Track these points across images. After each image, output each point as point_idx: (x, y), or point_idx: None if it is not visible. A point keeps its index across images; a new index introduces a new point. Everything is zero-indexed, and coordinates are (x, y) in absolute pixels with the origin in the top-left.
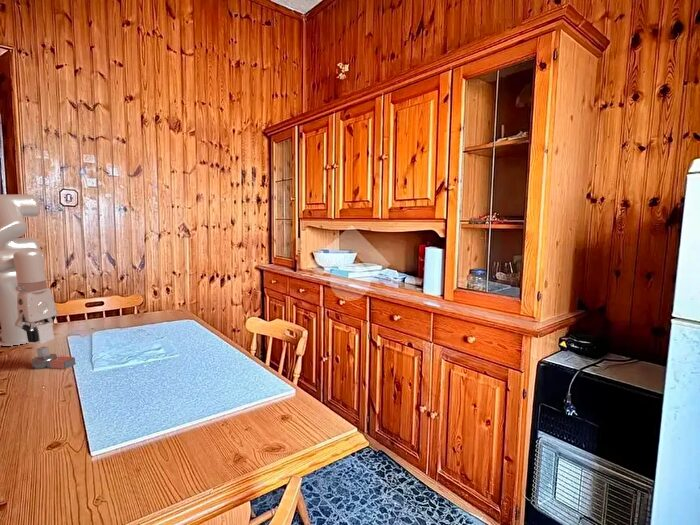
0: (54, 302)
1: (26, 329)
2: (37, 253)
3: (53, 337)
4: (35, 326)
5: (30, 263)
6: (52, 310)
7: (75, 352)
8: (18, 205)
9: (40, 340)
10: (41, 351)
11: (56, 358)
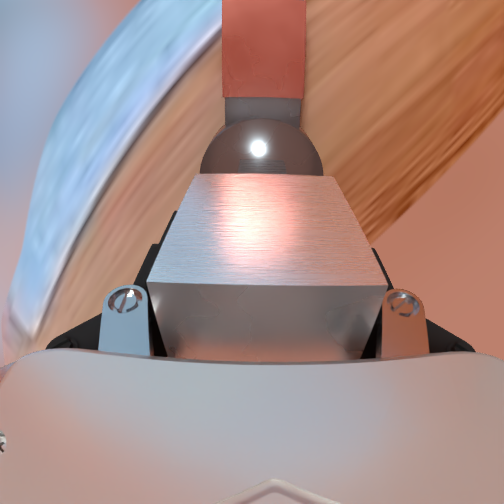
0: None
1: (433, 331)
2: None
3: (199, 179)
4: (372, 321)
5: None
6: (36, 448)
7: (90, 173)
8: None
9: (337, 188)
10: None
11: (258, 94)
